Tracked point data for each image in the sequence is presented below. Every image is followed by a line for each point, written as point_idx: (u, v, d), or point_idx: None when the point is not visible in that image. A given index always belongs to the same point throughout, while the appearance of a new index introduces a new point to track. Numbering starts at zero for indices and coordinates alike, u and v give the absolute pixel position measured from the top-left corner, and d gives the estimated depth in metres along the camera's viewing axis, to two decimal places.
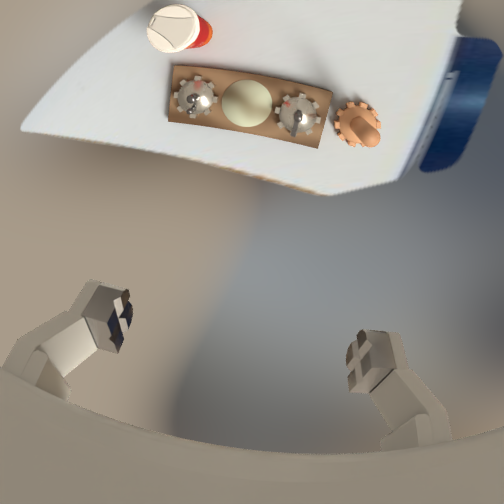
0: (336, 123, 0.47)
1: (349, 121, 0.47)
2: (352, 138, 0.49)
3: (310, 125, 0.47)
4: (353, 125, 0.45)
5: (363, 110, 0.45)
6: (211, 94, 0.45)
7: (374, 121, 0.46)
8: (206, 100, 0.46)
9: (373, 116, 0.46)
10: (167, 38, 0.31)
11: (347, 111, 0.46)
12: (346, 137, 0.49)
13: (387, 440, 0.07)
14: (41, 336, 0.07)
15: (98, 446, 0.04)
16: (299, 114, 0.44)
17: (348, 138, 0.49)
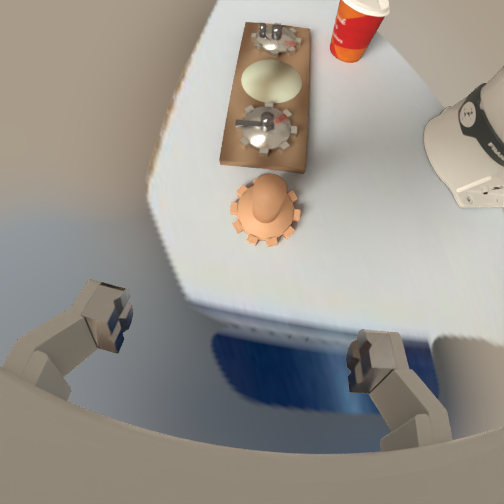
0: None
1: None
2: (243, 205, 0.36)
3: (254, 141, 0.36)
4: None
5: (289, 214, 0.36)
6: (280, 48, 0.37)
7: (277, 233, 0.36)
8: (273, 45, 0.38)
9: (284, 230, 0.36)
10: None
11: None
12: (242, 196, 0.36)
13: (387, 440, 0.07)
14: (41, 336, 0.07)
15: (98, 446, 0.04)
16: (272, 117, 0.34)
17: (241, 199, 0.36)
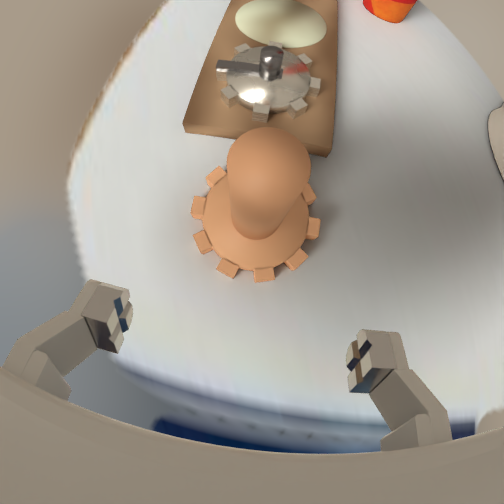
0: None
1: None
2: (215, 203, 0.19)
3: (245, 94, 0.19)
4: None
5: (300, 225, 0.19)
6: None
7: (274, 259, 0.19)
8: None
9: (288, 256, 0.19)
10: None
11: None
12: (216, 186, 0.19)
13: (387, 440, 0.07)
14: (41, 336, 0.07)
15: (98, 446, 0.04)
16: (280, 54, 0.17)
17: (213, 192, 0.19)
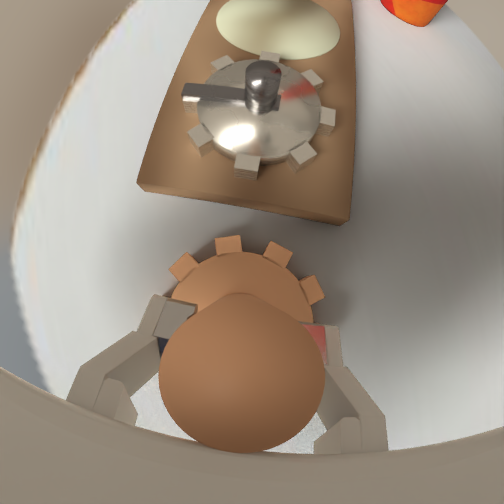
0: (235, 240, 0.14)
1: (248, 288, 0.14)
2: None
3: (224, 138, 0.13)
4: None
5: None
6: None
7: None
8: None
9: None
10: None
11: (288, 278, 0.14)
12: (183, 284, 0.14)
13: (318, 442, 0.07)
14: (110, 361, 0.07)
15: (98, 446, 0.04)
16: (276, 75, 0.11)
17: (180, 292, 0.14)
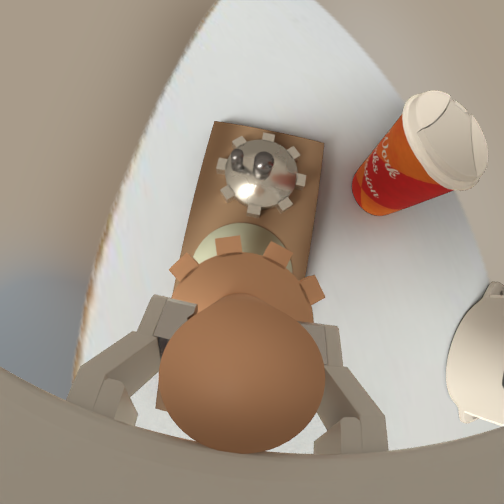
0: (235, 240, 0.14)
1: (248, 288, 0.14)
2: None
3: None
4: (249, 295, 0.11)
5: None
6: (265, 203, 0.25)
7: None
8: (253, 193, 0.25)
9: None
10: (438, 121, 0.15)
11: (288, 278, 0.14)
12: (183, 284, 0.14)
13: (318, 442, 0.07)
14: (110, 362, 0.07)
15: (98, 446, 0.04)
16: None
17: (180, 292, 0.14)
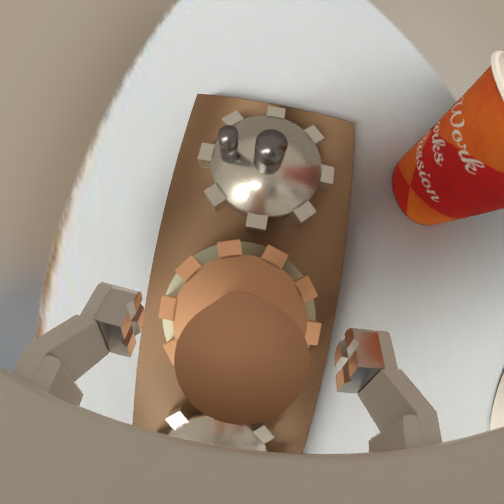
0: (235, 243, 0.15)
1: (247, 287, 0.15)
2: (187, 306, 0.15)
3: None
4: None
5: None
6: (274, 211, 0.16)
7: None
8: (254, 196, 0.16)
9: None
10: None
11: (284, 278, 0.15)
12: (188, 284, 0.15)
13: (375, 441, 0.07)
14: (53, 341, 0.07)
15: (98, 446, 0.04)
16: None
17: (185, 291, 0.15)
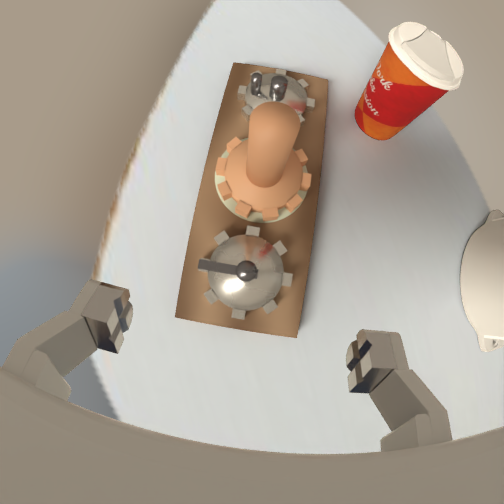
0: None
1: None
2: (233, 162, 0.26)
3: (225, 299, 0.25)
4: None
5: (296, 178, 0.26)
6: None
7: (278, 201, 0.25)
8: None
9: (288, 199, 0.26)
10: (417, 39, 0.17)
11: None
12: (234, 150, 0.26)
13: (387, 440, 0.07)
14: (41, 336, 0.07)
15: (98, 446, 0.04)
16: (254, 272, 0.23)
17: (232, 154, 0.26)
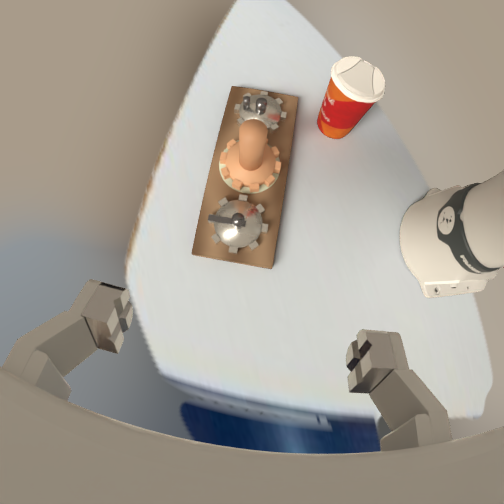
0: None
1: None
2: (231, 154, 0.40)
3: (224, 239, 0.39)
4: None
5: (271, 164, 0.40)
6: None
7: (259, 179, 0.40)
8: None
9: (265, 178, 0.40)
10: (349, 70, 0.31)
11: (266, 146, 0.40)
12: (231, 147, 0.40)
13: (387, 440, 0.07)
14: (41, 336, 0.07)
15: (98, 446, 0.04)
16: (242, 219, 0.37)
17: (230, 150, 0.40)
